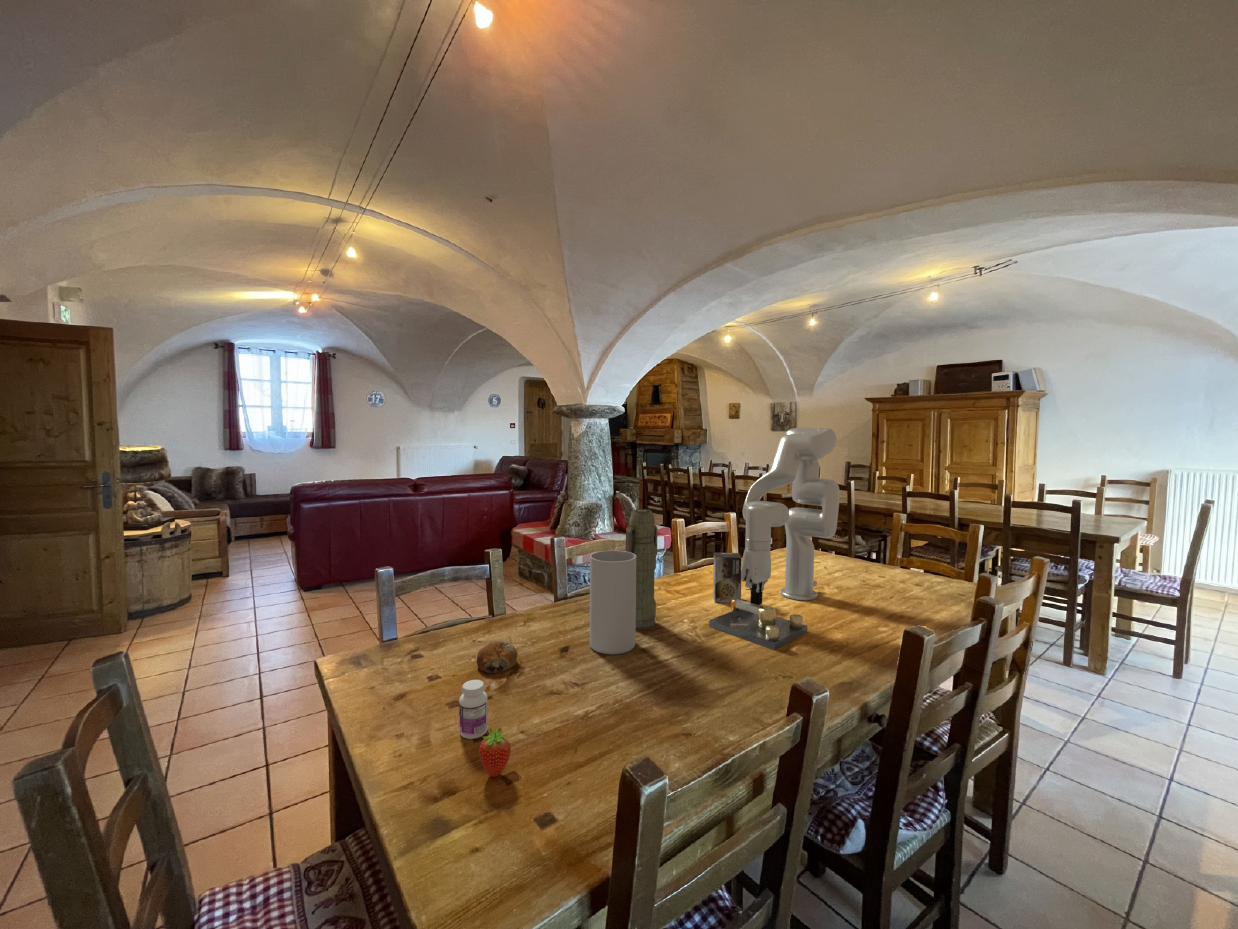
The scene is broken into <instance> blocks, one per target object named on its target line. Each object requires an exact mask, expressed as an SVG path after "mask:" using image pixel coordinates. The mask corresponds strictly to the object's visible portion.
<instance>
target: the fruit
mask: <svg viewBox="0 0 1238 929" xmlns="http://www.w3.org/2000/svg"><path fill="white" fill-rule="evenodd" d="M502 731H503V728H502V727H499V728H498V729H497V730H496V729H494V731H493V729H492V728H491V727H489V733H490V734H489V735H487V736H486V735H485V736H484V735H482V736H481V737H482V738H483V739H482V741H481V743H480V745H479V749H478V756H479V760H480V763H481V765H482V766H483V769H484V770H485V772H486V774H487V775H488V776H490V777H493V778H494V777H498V776H499V775H500V774H502V772H503V771H504V770H505V768H506V767H507V764H508V762H509V760H510V755H511V744H510V742H509V739H507V738H506V737H508V735H509V733H507V734H502V733H503V732H502ZM501 734H502V735H501Z"/></svg>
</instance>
